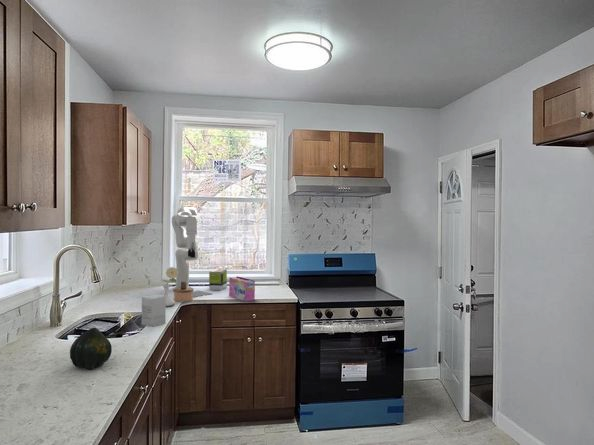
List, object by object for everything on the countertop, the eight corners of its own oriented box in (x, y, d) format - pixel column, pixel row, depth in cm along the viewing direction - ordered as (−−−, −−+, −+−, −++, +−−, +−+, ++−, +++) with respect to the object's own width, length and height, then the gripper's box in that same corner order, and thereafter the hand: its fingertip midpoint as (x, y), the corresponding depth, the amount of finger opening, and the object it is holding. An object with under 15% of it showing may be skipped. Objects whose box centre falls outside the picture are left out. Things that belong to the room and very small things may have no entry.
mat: (179, 294, 301) (179, 293, 301) (198, 291, 314) (198, 290, 314) (193, 297, 290) (193, 296, 290) (212, 294, 303) (212, 293, 303)
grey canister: (154, 320, 227) (154, 293, 227) (165, 323, 222) (166, 295, 222) (140, 324, 219) (141, 296, 219) (152, 327, 215) (152, 298, 214)
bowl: (170, 299, 283) (170, 290, 282) (185, 296, 292) (186, 288, 292) (180, 302, 275) (181, 293, 274) (196, 299, 284) (196, 290, 284)
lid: (169, 290, 282) (169, 281, 282) (186, 288, 293) (186, 279, 293) (180, 293, 274) (180, 284, 273) (197, 290, 284) (197, 281, 284)
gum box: (227, 295, 299) (227, 277, 299) (237, 294, 304) (237, 276, 304) (245, 301, 281) (245, 281, 280) (255, 299, 286) (255, 280, 286)
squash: (70, 363, 148) (98, 326, 155) (56, 354, 158) (83, 320, 165) (100, 380, 156) (126, 345, 163) (85, 371, 166) (109, 338, 173)
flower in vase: (156, 308, 257) (156, 268, 256) (157, 304, 268) (157, 266, 267) (177, 307, 260) (178, 267, 260) (178, 303, 271) (178, 265, 271)
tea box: (215, 286, 334) (215, 268, 334) (227, 287, 333) (227, 268, 333) (208, 289, 320) (209, 271, 319) (221, 290, 318) (221, 271, 318)
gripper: (184, 232, 297) (184, 256, 297) (188, 233, 282) (188, 258, 282) (194, 232, 301) (194, 256, 300) (199, 233, 285) (199, 257, 285)
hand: (191, 257), depth 291 cm, fingers open, 9 cm apart
